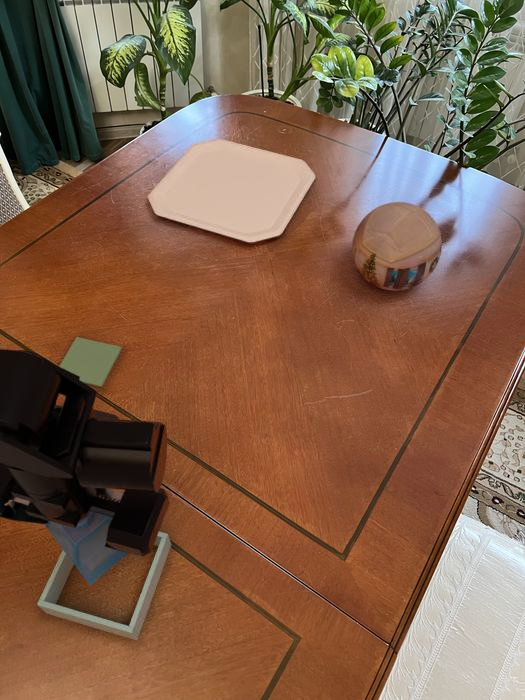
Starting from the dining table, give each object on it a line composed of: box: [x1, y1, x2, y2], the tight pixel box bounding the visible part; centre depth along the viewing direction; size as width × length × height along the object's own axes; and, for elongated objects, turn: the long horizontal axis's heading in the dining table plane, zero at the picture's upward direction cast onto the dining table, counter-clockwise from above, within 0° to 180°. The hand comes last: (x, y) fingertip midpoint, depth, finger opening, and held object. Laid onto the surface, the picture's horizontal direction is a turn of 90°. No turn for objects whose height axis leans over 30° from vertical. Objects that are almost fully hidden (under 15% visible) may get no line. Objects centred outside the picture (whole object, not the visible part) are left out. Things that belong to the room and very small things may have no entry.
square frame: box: [36, 531, 172, 641], centre depth 69 cm, size 12×12×4 cm
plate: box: [147, 138, 316, 244], centre depth 118 cm, size 29×29×2 cm
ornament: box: [351, 201, 443, 292], centre depth 98 cm, size 15×15×15 cm
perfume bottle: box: [44, 496, 129, 586], centre depth 61 cm, size 6×6×12 cm
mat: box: [58, 336, 123, 389], centre depth 91 cm, size 8×8×1 cm
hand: (87, 530), depth 62 cm, fingers closed on perfume bottle, 8 cm apart
